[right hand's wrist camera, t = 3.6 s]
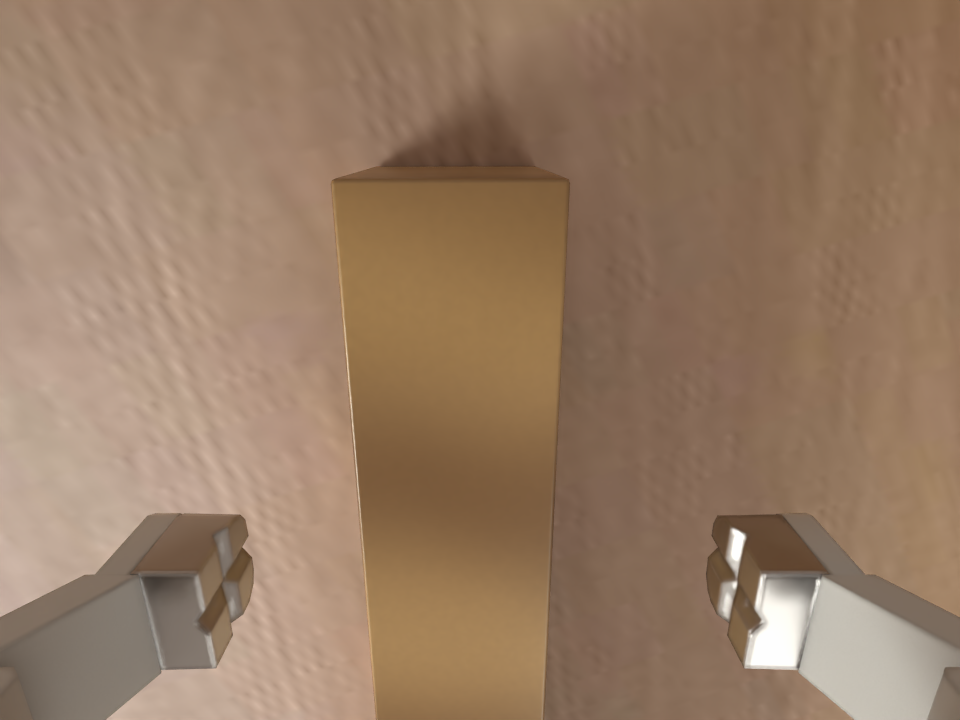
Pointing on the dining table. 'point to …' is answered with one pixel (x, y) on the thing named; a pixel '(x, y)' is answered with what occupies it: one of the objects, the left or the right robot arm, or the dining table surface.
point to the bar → (454, 428)
